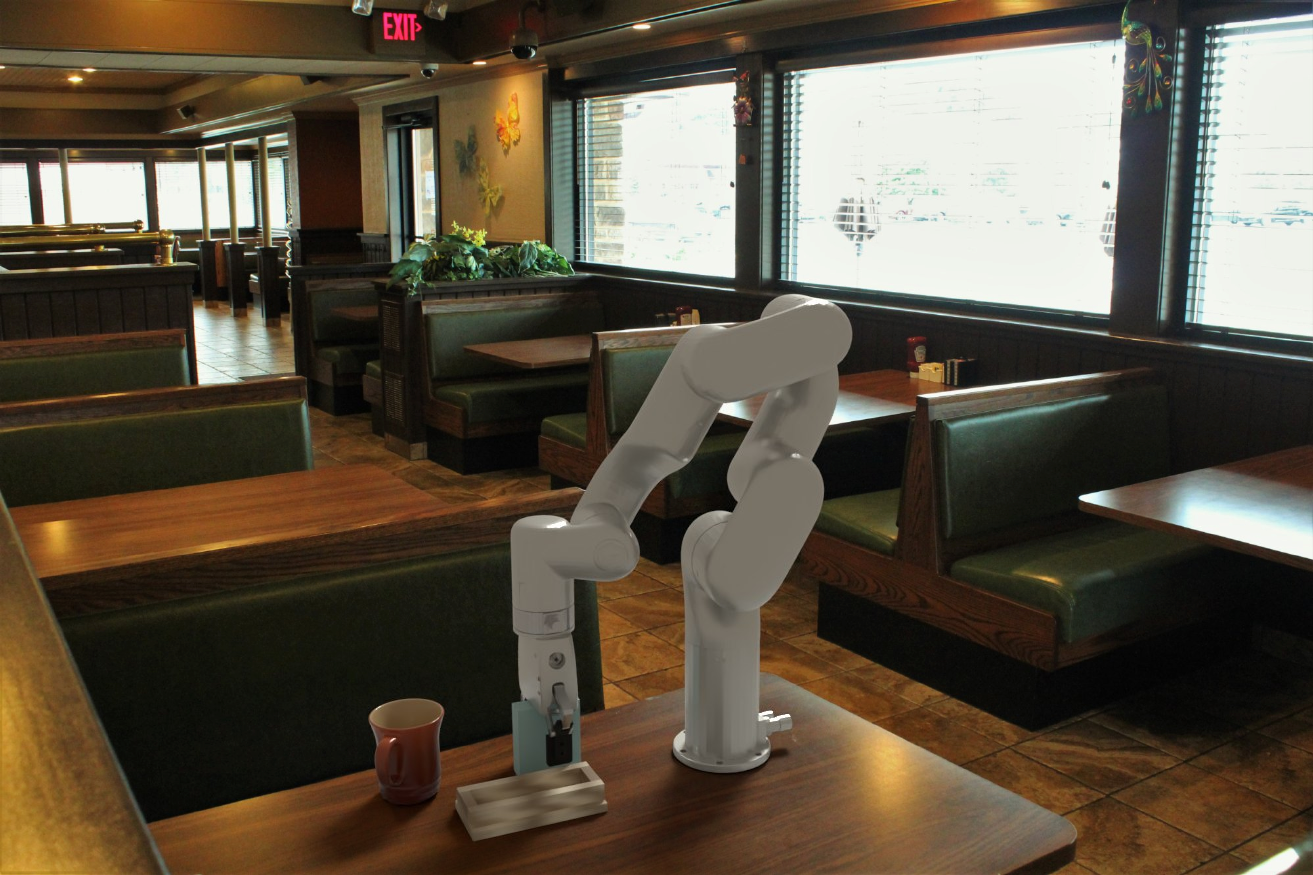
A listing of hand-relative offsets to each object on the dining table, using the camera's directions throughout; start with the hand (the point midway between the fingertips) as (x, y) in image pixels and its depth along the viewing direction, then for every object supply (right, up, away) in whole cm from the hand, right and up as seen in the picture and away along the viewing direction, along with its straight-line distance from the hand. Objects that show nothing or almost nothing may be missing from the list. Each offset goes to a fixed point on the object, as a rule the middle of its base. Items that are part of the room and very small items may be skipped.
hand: (546, 747), depth 142 cm
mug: (-16, -5, -7) cm, 18 cm away
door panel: (0, -3, +1) cm, 3 cm away
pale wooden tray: (-1, -5, -10) cm, 11 cm away
